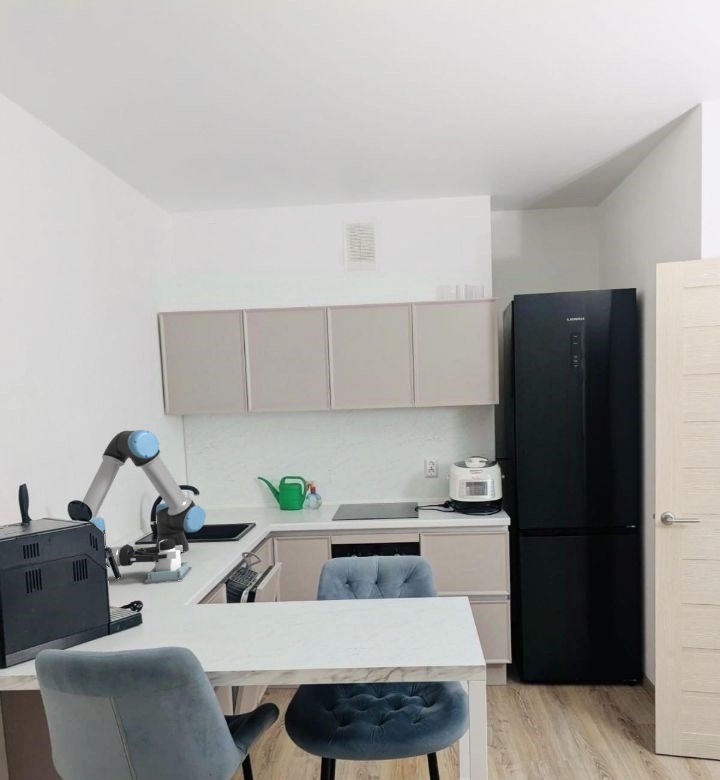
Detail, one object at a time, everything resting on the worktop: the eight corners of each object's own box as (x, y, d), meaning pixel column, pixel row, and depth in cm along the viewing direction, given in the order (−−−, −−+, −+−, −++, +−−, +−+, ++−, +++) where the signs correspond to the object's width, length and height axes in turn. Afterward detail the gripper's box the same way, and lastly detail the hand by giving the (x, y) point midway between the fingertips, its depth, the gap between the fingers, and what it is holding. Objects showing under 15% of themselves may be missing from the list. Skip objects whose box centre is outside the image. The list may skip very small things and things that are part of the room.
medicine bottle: (181, 567, 237) (179, 537, 237) (171, 573, 230) (169, 542, 231) (166, 567, 239) (164, 537, 239) (155, 573, 232) (153, 542, 233)
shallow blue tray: (157, 572, 242) (156, 563, 242) (191, 569, 243) (191, 560, 243) (144, 584, 226) (144, 575, 226) (181, 581, 227) (181, 572, 227)
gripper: (131, 558, 245) (186, 554, 246) (112, 573, 223) (172, 568, 224) (130, 540, 245) (185, 536, 246) (110, 553, 223) (171, 549, 224)
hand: (179, 551), depth 235 cm, fingers closed on medicine bottle, 9 cm apart
